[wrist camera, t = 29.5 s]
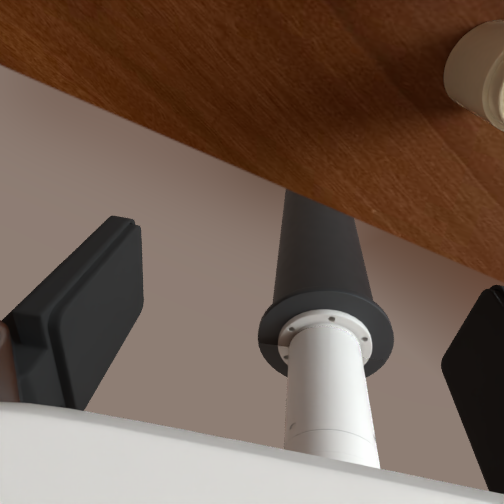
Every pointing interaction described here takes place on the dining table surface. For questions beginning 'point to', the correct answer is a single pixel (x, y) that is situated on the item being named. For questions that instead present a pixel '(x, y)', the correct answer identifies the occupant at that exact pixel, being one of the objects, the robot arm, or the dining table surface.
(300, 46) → the dining table surface
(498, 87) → the jar
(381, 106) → the dining table surface
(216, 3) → the dining table surface
